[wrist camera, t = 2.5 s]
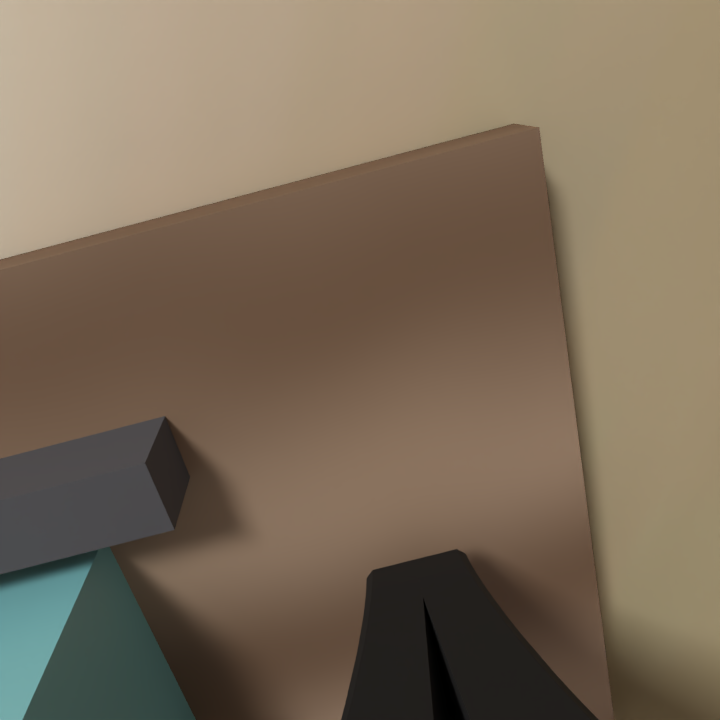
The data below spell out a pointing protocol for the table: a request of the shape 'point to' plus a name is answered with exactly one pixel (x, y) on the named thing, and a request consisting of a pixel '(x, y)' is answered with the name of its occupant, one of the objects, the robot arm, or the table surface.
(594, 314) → the table surface
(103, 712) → the plug
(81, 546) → the grey blocks
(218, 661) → the base board
